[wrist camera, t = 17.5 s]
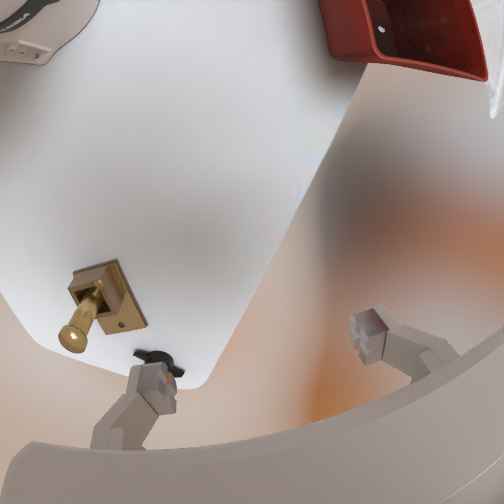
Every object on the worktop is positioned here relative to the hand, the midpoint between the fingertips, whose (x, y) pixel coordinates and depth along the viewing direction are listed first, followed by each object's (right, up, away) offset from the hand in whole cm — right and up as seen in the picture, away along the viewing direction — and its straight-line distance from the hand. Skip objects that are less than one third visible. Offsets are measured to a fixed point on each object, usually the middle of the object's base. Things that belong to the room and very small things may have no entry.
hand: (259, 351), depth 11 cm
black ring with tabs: (-19, -17, +41) cm, 48 cm away
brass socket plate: (-25, -4, +33) cm, 41 cm away
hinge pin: (-25, -1, +30) cm, 39 cm away
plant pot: (+16, +39, +19) cm, 46 cm away
